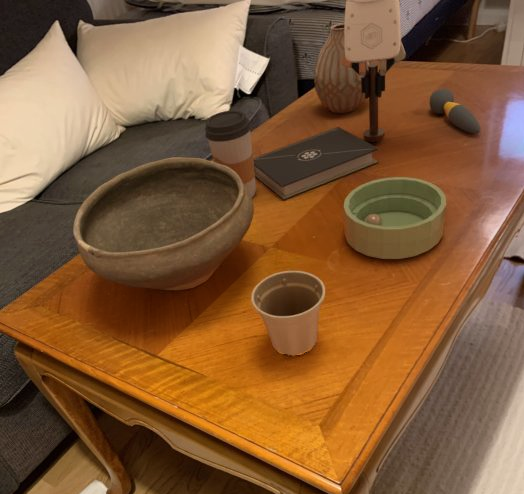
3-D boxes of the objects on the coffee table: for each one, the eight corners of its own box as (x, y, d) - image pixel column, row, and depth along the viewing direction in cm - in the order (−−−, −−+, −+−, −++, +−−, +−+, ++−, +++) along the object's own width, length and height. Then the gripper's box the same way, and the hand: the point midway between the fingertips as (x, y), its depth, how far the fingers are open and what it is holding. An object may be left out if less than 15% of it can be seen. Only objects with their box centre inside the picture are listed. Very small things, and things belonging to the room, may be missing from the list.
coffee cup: (269, 193, 102) (257, 115, 91) (234, 210, 99) (218, 133, 88) (246, 180, 107) (232, 105, 96) (212, 196, 104) (194, 121, 94)
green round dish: (441, 207, 89) (445, 175, 85) (443, 262, 79) (447, 228, 74) (350, 209, 93) (349, 178, 89) (340, 261, 83) (338, 229, 78)
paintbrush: (494, 132, 105) (498, 107, 102) (472, 139, 104) (476, 114, 101) (438, 103, 119) (440, 80, 115) (419, 109, 118) (420, 86, 115)
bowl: (169, 216, 101) (147, 146, 91) (293, 241, 89) (283, 163, 79) (67, 304, 86) (27, 231, 76) (200, 349, 73) (173, 269, 63)
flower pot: (289, 309, 76) (282, 262, 70) (342, 333, 71) (340, 284, 65) (247, 348, 72) (236, 300, 66) (300, 376, 67) (293, 327, 61)
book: (338, 139, 114) (337, 126, 111) (378, 162, 104) (378, 148, 101) (250, 172, 109) (248, 159, 107) (283, 200, 99) (281, 186, 97)
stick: (385, 131, 111) (385, 60, 101) (384, 140, 108) (384, 68, 98) (364, 133, 112) (362, 62, 102) (362, 142, 109) (360, 70, 99)
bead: (373, 229, 88) (386, 218, 86) (371, 239, 86) (385, 228, 84) (360, 217, 87) (374, 206, 85) (359, 227, 85) (373, 216, 83)
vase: (307, 117, 125) (299, 35, 112) (331, 95, 132) (327, 16, 120) (357, 121, 119) (355, 35, 106) (380, 98, 126) (380, 16, 114)
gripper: (324, -2, 91) (331, 106, 103) (418, -15, 86) (414, 99, 99) (329, -12, 96) (336, 92, 108) (419, -26, 91) (414, 84, 104)
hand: (373, 94), depth 104 cm, fingers closed on stick
